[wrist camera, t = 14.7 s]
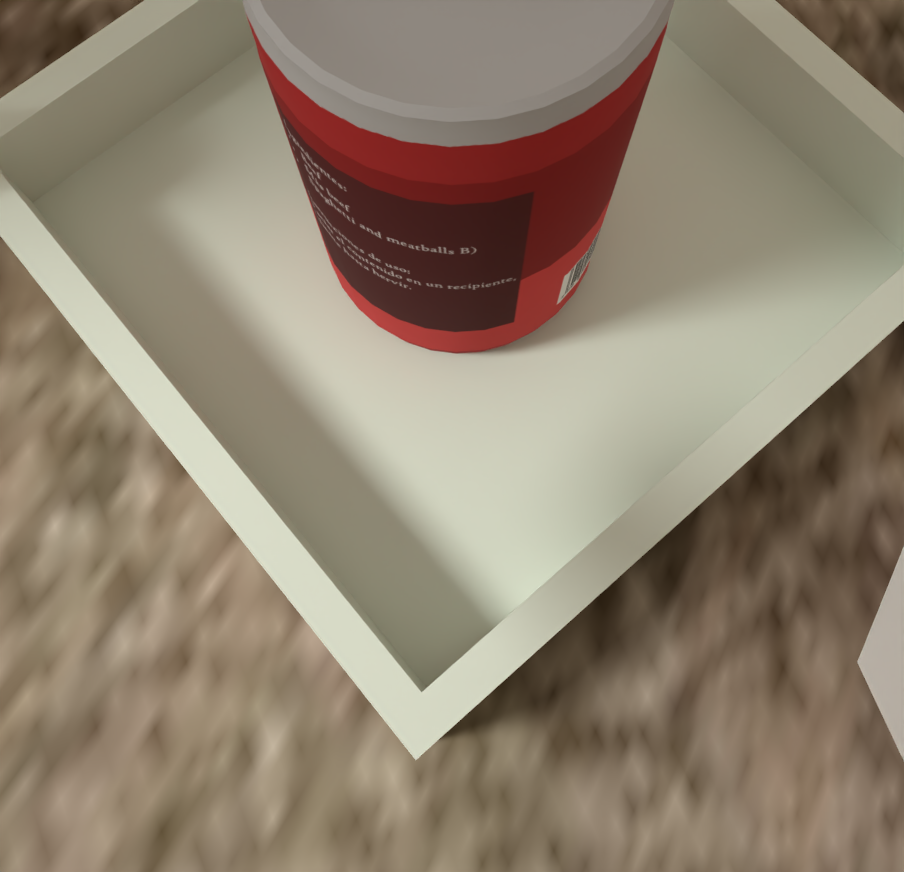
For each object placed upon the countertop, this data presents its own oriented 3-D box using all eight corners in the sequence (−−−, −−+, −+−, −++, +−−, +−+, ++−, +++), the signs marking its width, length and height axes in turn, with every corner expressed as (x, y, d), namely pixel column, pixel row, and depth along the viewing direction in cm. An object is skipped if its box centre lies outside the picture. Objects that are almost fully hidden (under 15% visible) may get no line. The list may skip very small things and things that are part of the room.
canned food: (552, 89, 26) (615, -313, 15) (627, 329, 24) (761, 62, 13) (304, 142, 25) (188, -230, 15) (359, 390, 23) (272, 170, 13)
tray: (-1, 213, 26) (-71, 146, 22) (495, -137, 29) (499, -242, 25) (423, 743, 22) (415, 759, 18) (944, 274, 25) (1021, 215, 21)
